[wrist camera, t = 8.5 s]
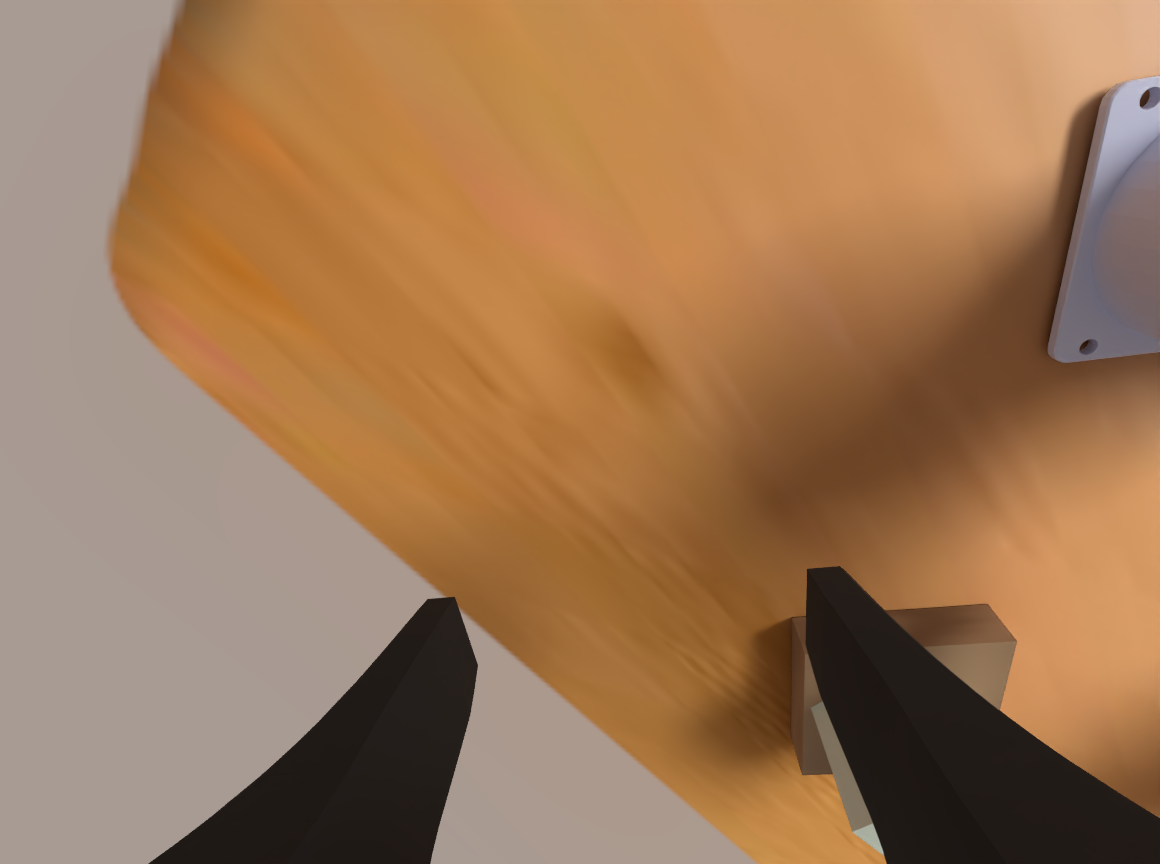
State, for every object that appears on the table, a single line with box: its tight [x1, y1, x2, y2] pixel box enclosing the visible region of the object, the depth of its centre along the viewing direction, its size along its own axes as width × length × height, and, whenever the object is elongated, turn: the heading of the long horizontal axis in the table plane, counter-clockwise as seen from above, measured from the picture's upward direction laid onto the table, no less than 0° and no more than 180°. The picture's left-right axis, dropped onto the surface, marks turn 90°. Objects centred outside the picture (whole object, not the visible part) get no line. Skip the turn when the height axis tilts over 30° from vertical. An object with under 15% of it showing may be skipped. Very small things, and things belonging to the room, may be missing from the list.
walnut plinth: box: [791, 604, 1017, 775], centre depth 26 cm, size 8×8×2 cm
